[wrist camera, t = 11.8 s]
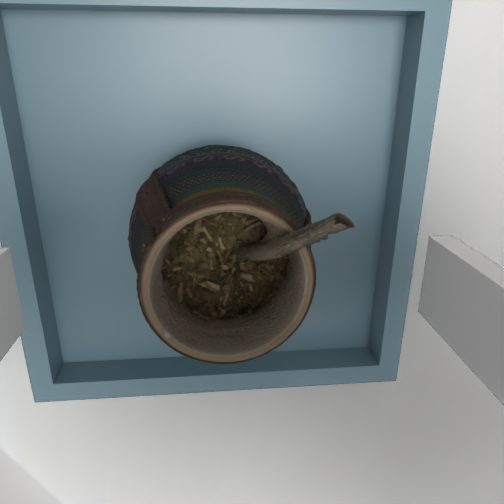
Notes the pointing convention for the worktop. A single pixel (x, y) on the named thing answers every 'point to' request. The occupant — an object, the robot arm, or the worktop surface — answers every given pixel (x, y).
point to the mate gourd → (224, 253)
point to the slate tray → (199, 135)
